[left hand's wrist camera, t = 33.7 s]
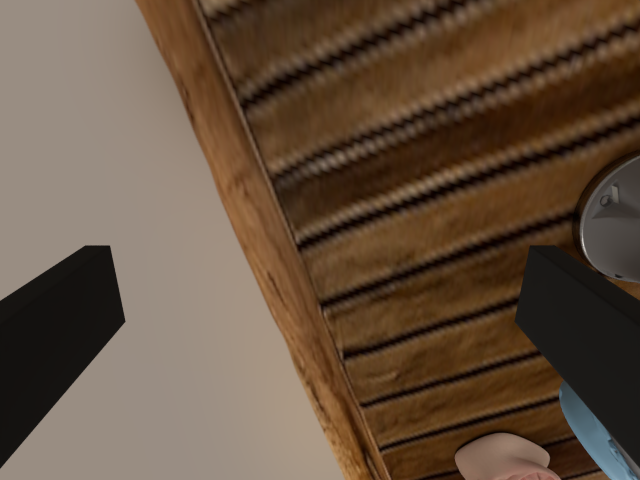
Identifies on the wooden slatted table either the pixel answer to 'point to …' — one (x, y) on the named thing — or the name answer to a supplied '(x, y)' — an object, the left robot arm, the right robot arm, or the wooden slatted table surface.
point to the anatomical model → (504, 459)
